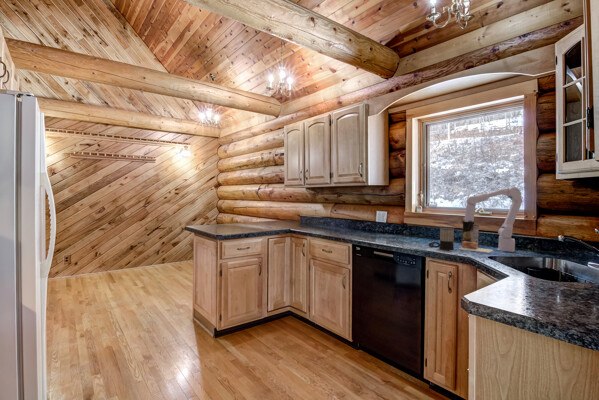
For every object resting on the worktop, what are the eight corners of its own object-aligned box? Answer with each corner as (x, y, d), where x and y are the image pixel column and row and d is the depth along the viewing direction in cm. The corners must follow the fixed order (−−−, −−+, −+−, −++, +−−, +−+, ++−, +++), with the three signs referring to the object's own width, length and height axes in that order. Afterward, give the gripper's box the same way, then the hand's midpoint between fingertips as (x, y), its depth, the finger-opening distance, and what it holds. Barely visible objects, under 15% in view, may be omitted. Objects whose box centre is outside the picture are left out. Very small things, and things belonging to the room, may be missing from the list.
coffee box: (461, 244, 235) (462, 223, 235) (467, 244, 237) (468, 223, 237) (472, 246, 227) (472, 224, 226) (478, 245, 229) (479, 224, 229)
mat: (493, 250, 211) (493, 249, 211) (489, 253, 200) (489, 252, 200) (463, 246, 223) (463, 246, 223) (457, 249, 212) (457, 248, 212)
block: (477, 248, 216) (477, 242, 216) (476, 249, 212) (476, 243, 212) (463, 246, 222) (463, 241, 222) (461, 247, 218) (462, 241, 218)
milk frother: (454, 251, 205) (455, 229, 205) (429, 249, 211) (430, 228, 211) (452, 247, 219) (452, 227, 218) (428, 246, 224) (428, 226, 224)
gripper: (466, 212, 226) (463, 230, 227) (461, 211, 215) (458, 230, 216) (477, 213, 221) (474, 232, 222) (472, 213, 211) (469, 232, 211)
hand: (466, 231), depth 219 cm, fingers open, 7 cm apart
